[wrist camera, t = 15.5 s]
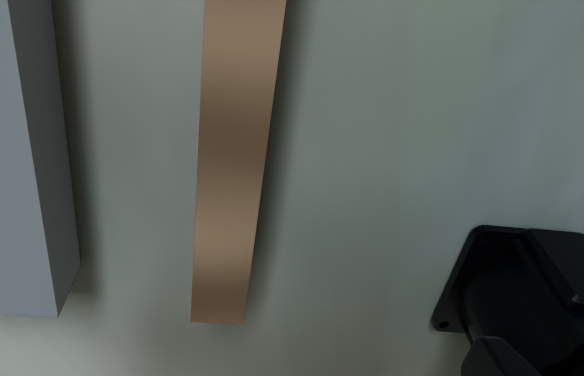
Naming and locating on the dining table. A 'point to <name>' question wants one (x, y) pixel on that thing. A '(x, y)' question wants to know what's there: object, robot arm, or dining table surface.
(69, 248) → the platform
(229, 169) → the scraper bar
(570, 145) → the dining table surface
